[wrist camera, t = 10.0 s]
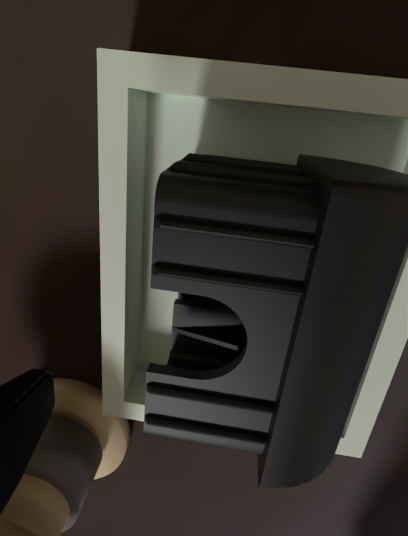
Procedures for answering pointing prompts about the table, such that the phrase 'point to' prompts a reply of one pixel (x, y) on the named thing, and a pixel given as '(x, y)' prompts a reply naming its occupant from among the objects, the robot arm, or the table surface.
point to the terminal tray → (229, 145)
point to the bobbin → (66, 462)
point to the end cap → (271, 302)
